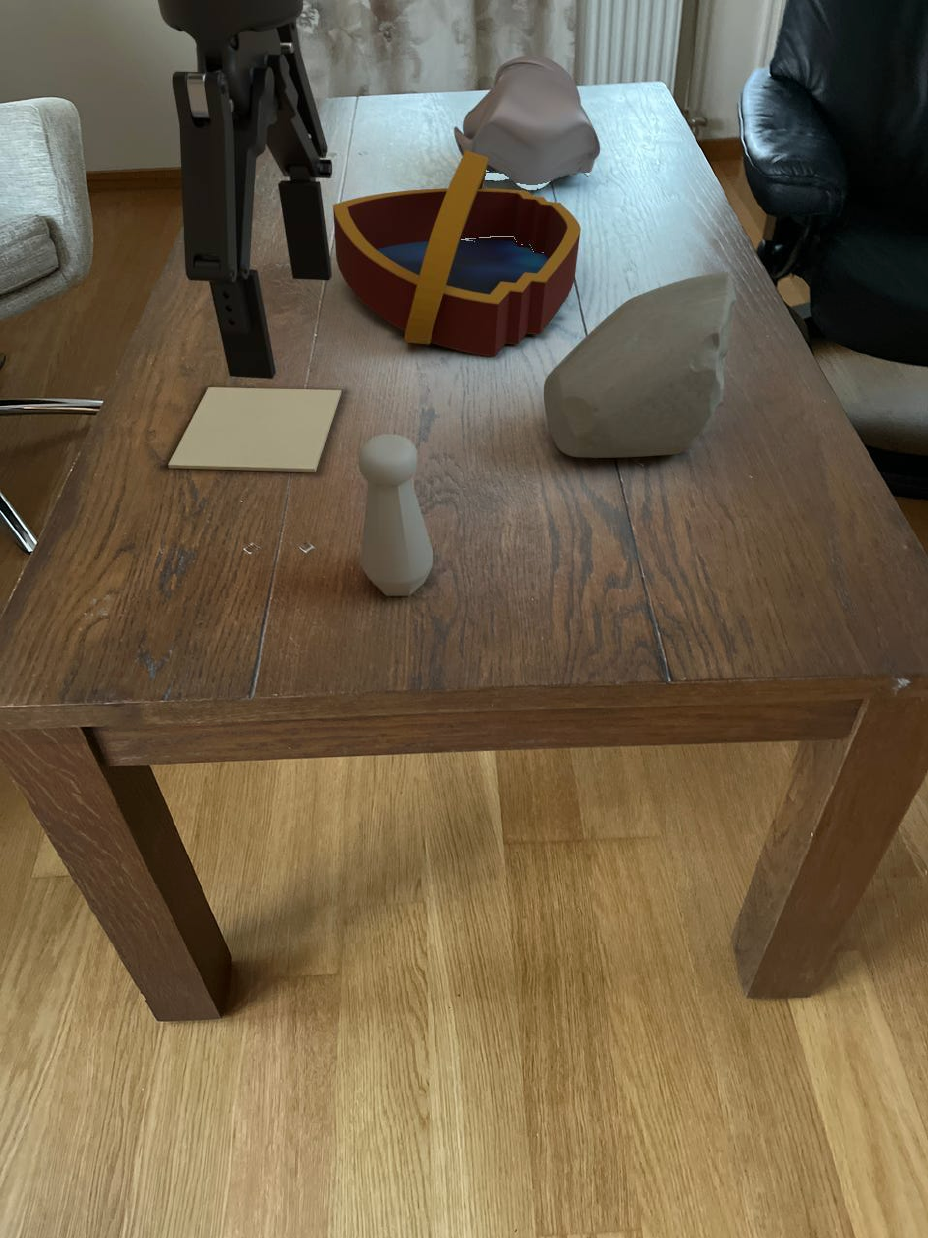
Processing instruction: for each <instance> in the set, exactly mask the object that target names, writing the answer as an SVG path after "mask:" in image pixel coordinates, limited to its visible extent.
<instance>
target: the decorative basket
mask: <svg viewBox="0 0 928 1238" xmlns="http://www.w3.org/2000/svg"><path fill="white" fill-rule="evenodd" d="M488 159H489V158H488V157H485V156H482V155H479V154H476V153H473V152H470V151H467V150H465V152H464V155H463V157H462V156H461V159H460V162H459V164H458V166H457V168H456V170H455V172H454V174H453V176H452V178H451V181H450V183H449V185H448V187H442V188H441V187H439V188H423V189H422V188H421V189H409V190H400V191H399V190H398V191H391V192H384V193H377V194H371V195H366V196H361V197H357V198H352V199H348V200H345V201H341V202H338V203H335V204H332V209H333V210H332V211H333V213H332V214H333V228H334V229H333V230H334V231H333V232H334V244H335V247H334V249H335V259H336V263H337V267H338V270H339V272H340V274H341V276H342V278H343V280H344V281H345V283H346V284H347V286H348V287H349V289H350V290H351V292H353V294H354V295H355V297H356V298H358V300H359V301H361V302H362V303H363V304H364V305H365V306H366V307H367V308H368V309H370V310H371V311H372V312H373V313H375V314H376V315H378V316H379V317H381V319H383V320H385V321H387V322H388V323H389V324H391V325H393V326H395V327H397V328H398V329H399V330H401V331H404V343H408V344H420V345H430V344H431V343H432V344H435V345H437V346H441V347H445V348H447V349H452V350H457V351H460V352H464V353H468V354H474V355H479V356H485V357H496V355H497V354H499V352H500V351H501V349H503V347H504V346H505V345H506V344H509V345H519V344H520V342H521V341H522V340H523V339H524V337H525V336H526V335H527V334H531V335H541V334H542V333H543V331H544V330H545V329H546V327H547V326H548V325H549V324H550V322H551V321H552V320H553V318H554V317H555V316H556V315H557V313H558V312H559V311H560V309H561V307H562V306H563V304H564V303H565V301H566V300H567V298H568V296H569V294H570V292H571V291H572V288H573V286H574V283H575V277H576V271H577V262H578V254H579V246H580V245H579V244H580V239H581V238H580V237H581V226H580V223H579V222H578V220H577V218H575V216H574V215H573V214H572V213H571V212H570V211H569V210H568V209H567V208H566V206H564V205H563V204H562V203H561V202H556V201H554V202H553V201H548V200H547V199H546V198H545V197H544V196H537V195H536V196H535V195H532V193H530V191H526V190H523V189H511V188H509V189H508V188H490V187H487V188H486V187H485V188H484V185H485V181H486V180H485V176H486V170H487V164H488ZM490 236H514V237H515V239H516V240H515V239H514V237H491V238H479V237H490ZM465 238H476V239H469V240H473V241H466V240H461V239H465ZM474 241H475V242H474ZM516 241H517V242H516ZM521 244H523V245H521ZM529 244H530V245H531V246H530V245H529ZM531 247H532V248H531ZM532 249H533V250H532ZM533 251H534V252H533ZM542 252H544V253H542Z"/></svg>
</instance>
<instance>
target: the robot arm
mask: <svg viewBox="0 0 928 1238" xmlns="http://www.w3.org/2000/svg"><path fill="white" fill-rule="evenodd" d="M157 3H158V4H157V5H158V8H159V12H160V13H159V14H160V16H161V18H162V20H163V22H164V23H165V25H167V26H168V27H170V28H171V29H173V30H175V31H178V32H185V33H186V34H187V35H188V36H190V37H191V38H192V39H193V40H194V42H195V44H196V46H195V47H196V48H195V52H196V67H197V68H196V70H197V71H177V70H176V71H174V72H173V74H172V82H171V83H172V91H173V96H174V101H175V107H176V108H175V109H176V114H177V118H178V119H177V120H178V124H179V125H178V126H179V149H180V153H179V154H180V172H181V173H180V177H181V199H182V201H181V202H182V224H183V226H182V227H183V248H184V270H185V271H184V272H185V276H186V278H187V279H188V280H189V281H191V282H194V281H196V282H208V283H209V288H210V292H211V296H212V302H213V306H214V310H215V315H216V320H217V324H218V328H219V333H220V338H221V342H222V347H223V351H224V356H225V360H226V365H227V369H228V374H229V377H230V378H231V377H233V378H246V379H247V378H250V379H264V380H273V379H274V377H275V376H276V374H277V370H276V365H275V359H274V354H273V348H272V343H271V337H270V331H269V326H268V321H267V314H266V309H265V305H264V298H263V293H262V288H261V281H260V276H259V271H258V269H253V268H252V269H251V268H250V267H251V252H252V249H251V248H252V233H253V217H254V204H255V203H254V201H255V188H256V187H255V186H256V172H257V171H256V170H257V161H258V160H257V159H258V157H260V156H261V155H263V154H264V153H265V151H266V147H267V149H268V151H269V152H270V154H271V156H272V157H273V160H274V162H275V163H276V165H277V166H278V169H279V171H280V172H281V174H282V176H283V177H287V178H288V177H289V180H288V179H281V180H280V181H279V183H277V186H278V187H277V188H278V193H279V200H280V207H281V212H282V219H283V227H284V232H285V238H286V244H287V250H288V258H289V264H290V270H291V277H292V280H309V281H311V280H313V281H330V280H331V279H332V277H333V272H332V265H331V263H332V262H331V256H330V247H329V240H328V232H327V225H326V217H325V210H324V209H325V208H324V200H323V192H322V184H321V181H320V180H319V181H318V180H317V178H321V179H331V178H332V176H333V162H332V159H326V157H327V155H328V149H329V147H328V144H327V140H326V136H325V132H324V130H323V127H322V126H323V125H322V121H321V118H320V116H319V115H320V114H319V112H318V108H317V105H316V101H315V97H314V95H313V89H312V86H311V83H310V80H309V76H308V72H307V69H306V65H305V62H304V58H303V55H302V52H301V45H300V39H299V34H298V27H297V19H298V18H299V17H300V16H301V15H302V13H303V10H304V0H157Z"/></svg>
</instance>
